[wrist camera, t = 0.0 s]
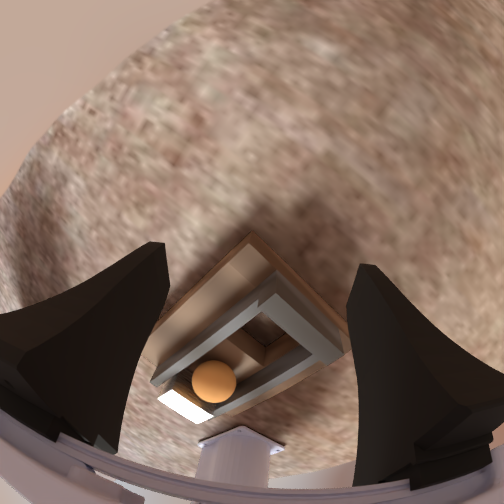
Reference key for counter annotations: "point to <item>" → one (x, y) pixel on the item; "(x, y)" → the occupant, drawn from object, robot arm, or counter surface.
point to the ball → (214, 381)
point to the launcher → (239, 313)
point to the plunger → (185, 398)
